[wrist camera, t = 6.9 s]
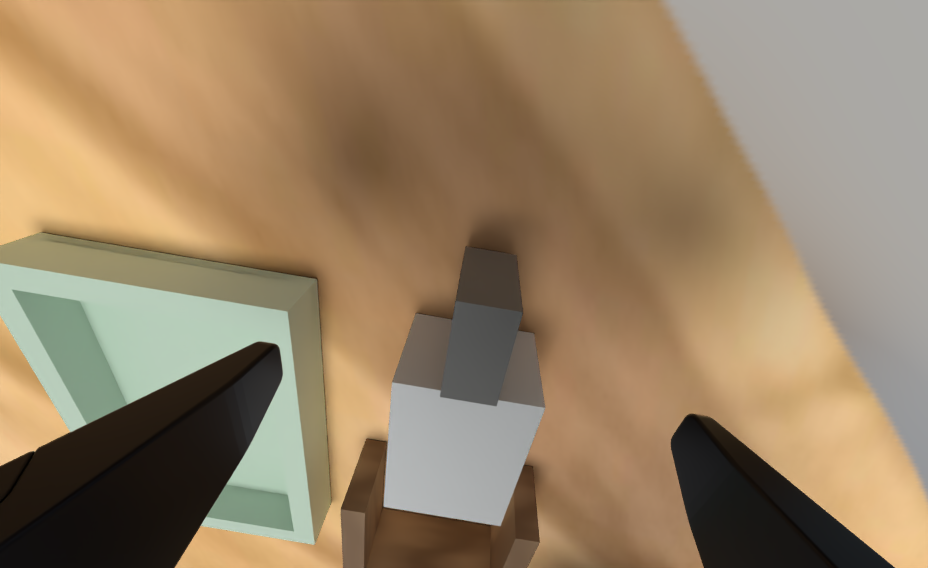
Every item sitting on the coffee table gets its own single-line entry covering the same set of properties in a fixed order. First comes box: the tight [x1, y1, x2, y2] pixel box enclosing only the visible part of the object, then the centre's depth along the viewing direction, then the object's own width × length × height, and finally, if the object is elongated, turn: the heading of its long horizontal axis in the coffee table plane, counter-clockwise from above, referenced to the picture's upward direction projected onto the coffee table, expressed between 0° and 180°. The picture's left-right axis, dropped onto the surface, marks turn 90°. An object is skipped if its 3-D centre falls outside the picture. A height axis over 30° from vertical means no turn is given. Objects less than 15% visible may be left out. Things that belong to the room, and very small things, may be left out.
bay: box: [341, 439, 540, 568], centre depth 21 cm, size 10×8×4 cm
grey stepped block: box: [383, 246, 545, 526], centre depth 16 cm, size 6×12×5 cm, turn 171°
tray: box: [0, 232, 331, 545], centre depth 19 cm, size 12×18×3 cm
